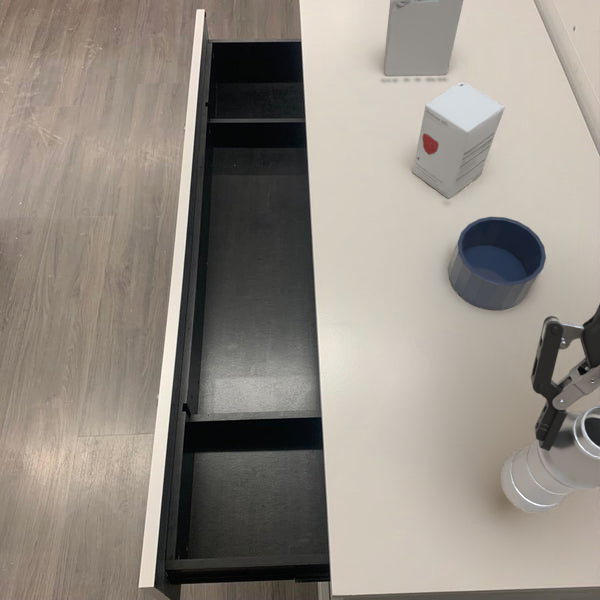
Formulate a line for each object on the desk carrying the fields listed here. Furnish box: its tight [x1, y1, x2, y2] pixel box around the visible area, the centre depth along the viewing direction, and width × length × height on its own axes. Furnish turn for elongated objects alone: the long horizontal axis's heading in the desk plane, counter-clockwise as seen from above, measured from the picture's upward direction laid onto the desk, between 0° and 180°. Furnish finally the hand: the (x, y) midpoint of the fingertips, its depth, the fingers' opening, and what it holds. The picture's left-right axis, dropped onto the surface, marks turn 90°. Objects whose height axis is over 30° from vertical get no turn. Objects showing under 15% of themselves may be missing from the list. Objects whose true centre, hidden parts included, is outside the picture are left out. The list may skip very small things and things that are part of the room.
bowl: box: [448, 216, 547, 311], centre depth 80 cm, size 12×12×7 cm
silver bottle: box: [500, 405, 600, 514], centre depth 49 cm, size 6×7×20 cm
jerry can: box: [383, 0, 464, 77], centre depth 100 cm, size 15×5×25 cm, turn 88°
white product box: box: [412, 80, 506, 199], centre depth 89 cm, size 9×9×15 cm
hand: (583, 461), depth 43 cm, fingers closed on silver bottle, 5 cm apart
